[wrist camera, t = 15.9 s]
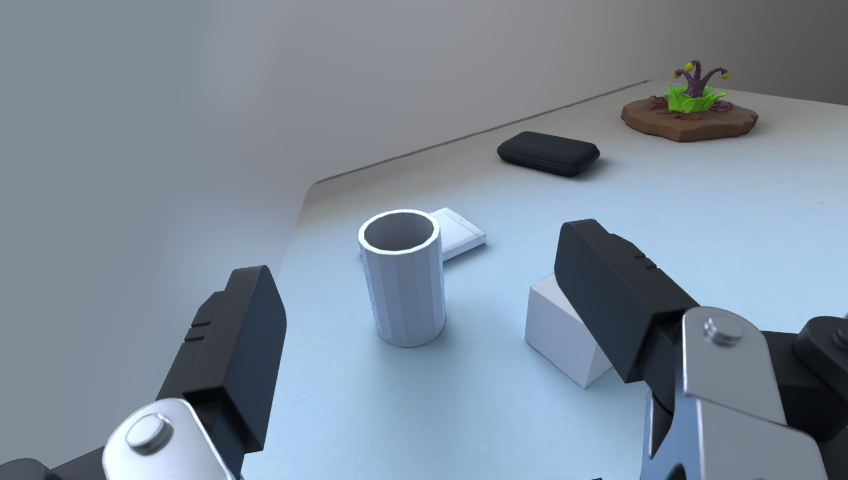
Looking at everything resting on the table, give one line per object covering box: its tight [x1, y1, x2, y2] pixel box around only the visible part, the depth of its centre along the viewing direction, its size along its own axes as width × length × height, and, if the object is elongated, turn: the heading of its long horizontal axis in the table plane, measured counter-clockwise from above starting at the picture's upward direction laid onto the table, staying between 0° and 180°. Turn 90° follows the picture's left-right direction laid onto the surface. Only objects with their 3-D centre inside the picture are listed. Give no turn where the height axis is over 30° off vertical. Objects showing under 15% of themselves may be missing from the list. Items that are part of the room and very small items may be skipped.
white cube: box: [524, 273, 613, 389], centre depth 29 cm, size 6×6×6 cm
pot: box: [358, 209, 446, 347], centre depth 32 cm, size 6×6×10 cm
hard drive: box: [430, 208, 486, 262], centre depth 44 cm, size 2×8×12 cm
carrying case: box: [497, 131, 600, 176], centre depth 61 cm, size 11×3×15 cm
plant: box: [621, 61, 758, 142], centre depth 69 cm, size 20×20×11 cm
